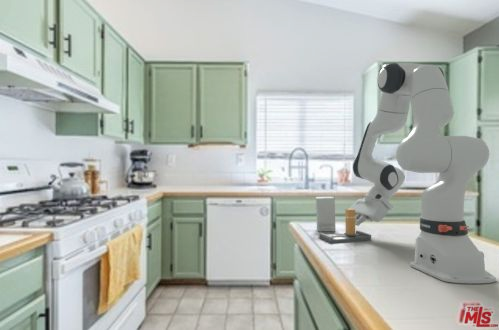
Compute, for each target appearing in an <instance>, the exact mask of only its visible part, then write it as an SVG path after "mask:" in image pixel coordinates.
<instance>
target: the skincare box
mask: <svg viewBox="0 0 499 330" xmlns="http://www.w3.org/2000/svg"><path fill="white" fill-rule="evenodd" d="M335 200H336V199H335V197H334V196H316V197H315V206H316V207H315V210H316V213H315V214H316V216H315V217H316V218H315V219H316V230H317V232H319V233H323V232H336V231H337V230H336V208H335V207H336V206H335V205H336V203H335Z"/></svg>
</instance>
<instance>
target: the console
mask: <svg viewBox="0 0 499 330" xmlns="http://www.w3.org/2000/svg"><path fill="white" fill-rule="evenodd" d="M355 234H357V236H347V235H344V233H333V234H332V233H330V234H326V233H324V232H319V239H320V240H323V241H325V242H327V243H329V244H337V243H338V244H339V243H352V242H354V243H355V242H364V241H365V242H366V241H367V242H368V241H372V234H369V233H367V232H364V231H361V230H356V229H355Z"/></svg>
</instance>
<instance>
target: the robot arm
mask: <svg viewBox="0 0 499 330" xmlns="http://www.w3.org/2000/svg"><path fill="white" fill-rule="evenodd" d="M377 85H378V86H377V87H378V88H379V90H380V91H381V95H380V98H379V101H378V102H379V103H378V107H377V111H376V114H375V117H374V118H373V119H372V120H370V121H369V122H368V124H367V126H366V129H365V131H364V134H363V137H362V140H361V143H360V145H359V146H360V147H359V150H358V153H357V155H356V157H355V159H354V161H353V163H352V172H353V174H354V176H355V177H357V178H358V179H363V180H365V181H369V182H370V183H373V184H374V185H373V186H372V187H371V188H370V189H369V190H368V191H367V192H366V194H365V195H364V197H362V198H359V199H356V201H354V203H352V204H351V206H349V207H348V209H354V210H355V226H358V227H359V226H360V225H361V224H362V223H364V222H366V221H367V220H369V221H372V222H377V223H379V222H380V221H382V220H383V219H384V218H385V217H386V215H388V213H389V212H390V211H391V210H392V209H393V205H392V204H391V202H390V200H391V199H392V197H393V196H394V195H396V194H397V192H398V191H399V190H400V189H401V188H402V185H403V184H404V181H405V179H406V175H405V173H404V171H408V172H412V173H418V174H419V173H420V174H424V173H425V174H428V173H429V174H434V173H437V174H438V173H439V174H438V177H437V180H436V181H435V183H434V184H432V185H429V186H427V187H426V188H425V189H424V190H423V191H422V193H421V195H420V199H421V201H420V202H421V207H420V208H421V211H420V212H421V216H420V219H419V230H420V233H419V235H418V236H417V237H416V238H415V248H414V261H411V262H410V267H411V268H413V269H416V270H417V271H420V272H423V273H425V274H426V275H430V276H431V277H433V278H436V279H438V280H441V281H443V282H447V283H454V284H472V285H474V284H491V283H495V282H497V277H496V276H495V275H494V274H491V273H490V272H489V271H487V270H486V265H485V264H486V262H485V253H484V252H483V251H482V250H481V251H480V250H479V249H478V248H477V246H476V245H475V243H474V242H473V241H472V239H471V238H470V237H469V235H468V234H469V230H470V229H469V225H467V223H466V220H465V218H464V215H465V214H464V213H465V212H464V211H465V210H464V208H465V207H464V206H465V196H466V191H467V188H468V186H469V184H470V182H471V180H472V178H473V177H474V176H475V175H476V174H477V173H478V172H479V171H480V170H482V169H483V168H484V167H485V166H486V165H487V164H488V162H489V159H490V150H489V146H488V145H487V143H486V141H484V140H483V139H481V138H479V137H473V136H468V135H442V134H441V133H440V129H442V128H443V127H445V126H446V125H448V124H449V123H450V122H451V121H452V119H453V117H454V114H455V113H454V112H455V111H454V109H453V108H454V107H453V103H452V98H451V93H450V90H449V87H448V84H447V81H446V78H445V74H444V70H443V69H442V68H441V67H440V66H437V65H434V64H423V63H422V64H421V63H416V62H415V63H414V62H398V63H397V62H390V63H386V64H384V65H383V66H382V67H381V68H380V70H379V71H378V75H377ZM410 105H411V110H412V111H411V112H412V118H413V119H412V120H413V121H412V128H411V131H410V133H409V134H408V135H407V137H405V138H404V139H403V140H401V142H400V143H399V145H398V146H397V148H396V153H395V158H396V160H397V161H396V162H397V164H398V165H399V167H400V168H401V169H400V168H398V167H396V166H394V165H393V164H391V163H388V162H385V161H383V160H379V159H376V158H374V157H373V152H374V148H375V147H376V144H377V140H378V138H379V137H380V136H382V135H386V134H388V135H389V134H392V133H393V134H394V133H397V132H399V131H400V130H401V129H403V127H405V125H406V123H407V120H408V116H409V111H410ZM402 169H403V170H404V171H403V170H402Z"/></svg>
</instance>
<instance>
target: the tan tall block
mask: <svg viewBox="0 0 499 330" xmlns="http://www.w3.org/2000/svg"><path fill="white" fill-rule="evenodd" d="M344 217H345V232H344V233H343V234H344V235H347V236H357V234H355V233H356V225H355V210H354V209H349V208H346V209H345V216H344Z"/></svg>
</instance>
